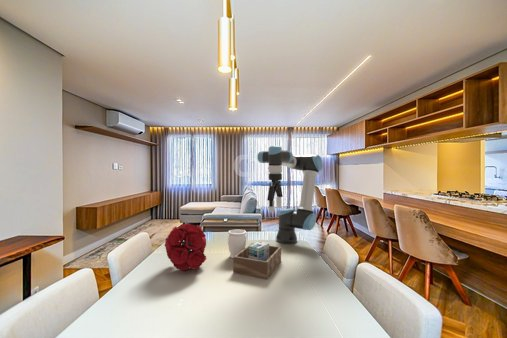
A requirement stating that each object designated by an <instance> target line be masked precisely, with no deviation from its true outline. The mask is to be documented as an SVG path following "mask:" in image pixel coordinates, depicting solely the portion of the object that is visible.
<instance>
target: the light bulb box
mask: <svg viewBox="0 0 507 338" xmlns="http://www.w3.org/2000/svg"><path fill="white" fill-rule="evenodd" d="M253 243H254V244H252V245H250V244H249V245H250V246H249V245H248V246H249V259H254V260H260V261H267V260H268V259H269V245H270V243H269V242H265V241H264V242H263V241H257V242H253Z"/></svg>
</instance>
